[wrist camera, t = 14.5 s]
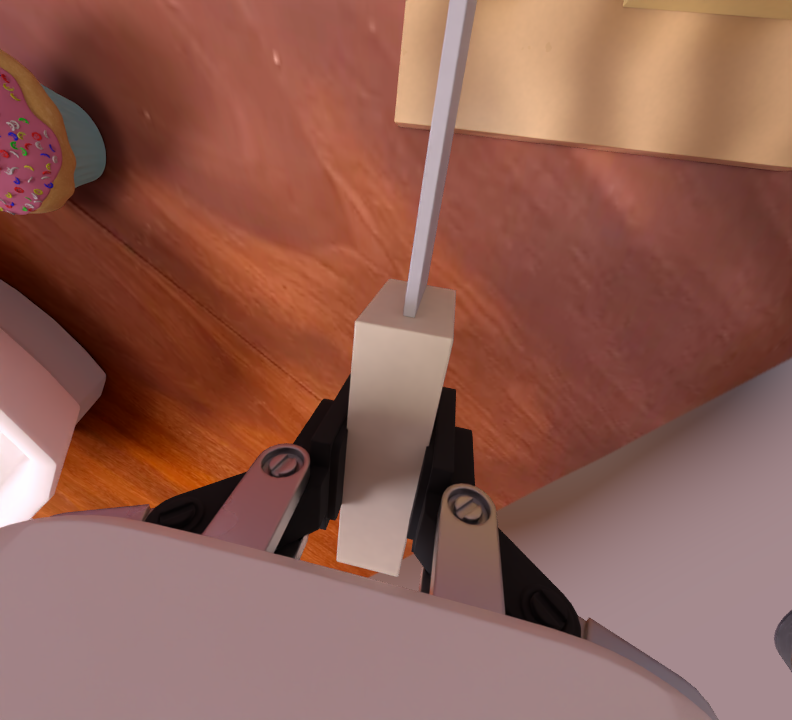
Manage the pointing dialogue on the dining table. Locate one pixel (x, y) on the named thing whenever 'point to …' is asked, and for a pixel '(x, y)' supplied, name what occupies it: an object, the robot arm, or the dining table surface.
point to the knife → (402, 354)
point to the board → (610, 79)
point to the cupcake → (42, 144)
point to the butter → (721, 7)
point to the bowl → (37, 402)
